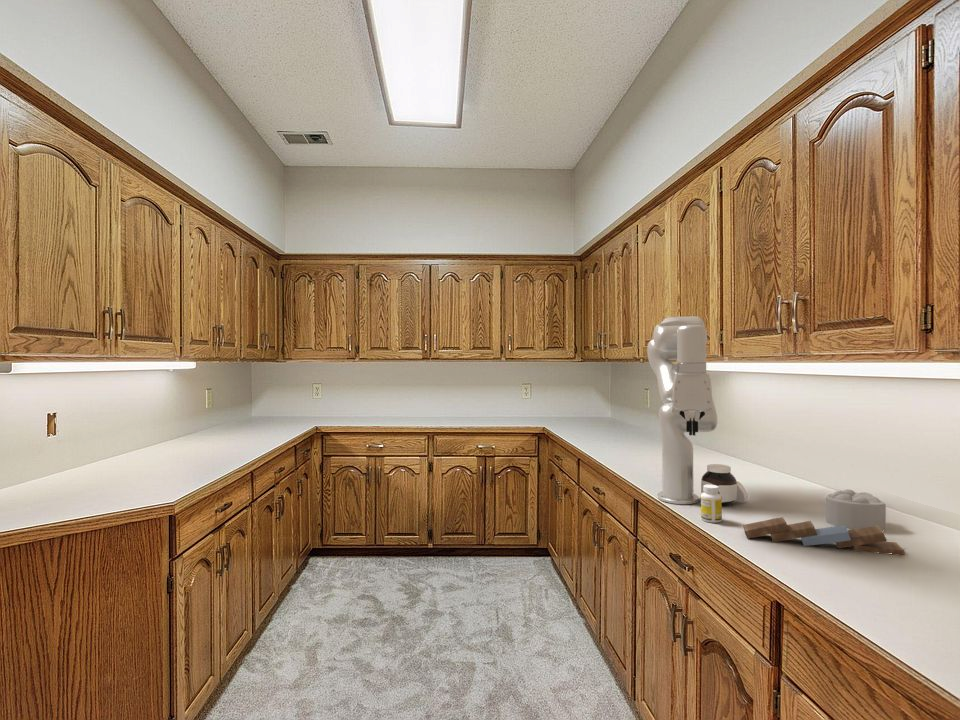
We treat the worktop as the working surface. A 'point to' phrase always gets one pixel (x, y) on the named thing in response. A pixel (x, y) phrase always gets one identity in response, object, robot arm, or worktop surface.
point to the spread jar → (724, 484)
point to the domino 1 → (765, 527)
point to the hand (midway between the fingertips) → (692, 434)
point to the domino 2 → (795, 531)
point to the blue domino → (827, 536)
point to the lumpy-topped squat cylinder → (855, 510)
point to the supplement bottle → (711, 504)
